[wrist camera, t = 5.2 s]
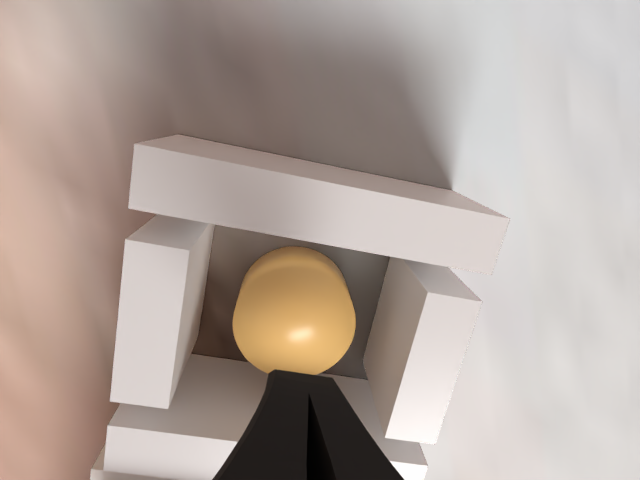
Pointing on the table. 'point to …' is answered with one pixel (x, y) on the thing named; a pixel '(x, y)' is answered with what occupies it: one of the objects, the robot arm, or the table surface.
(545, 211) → the table surface
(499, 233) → the button guard
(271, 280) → the button
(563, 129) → the table surface
